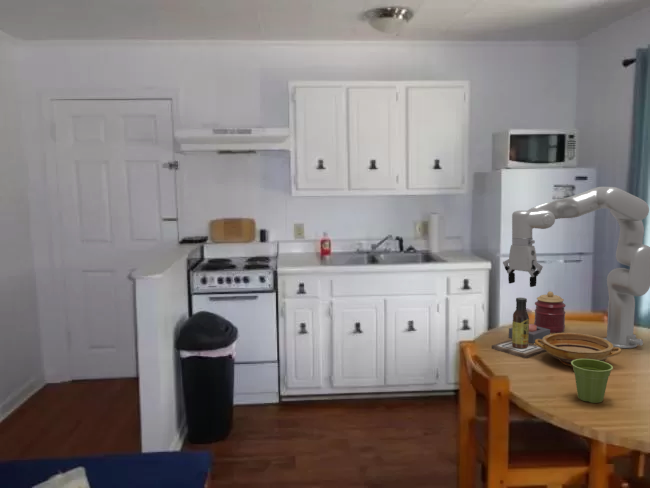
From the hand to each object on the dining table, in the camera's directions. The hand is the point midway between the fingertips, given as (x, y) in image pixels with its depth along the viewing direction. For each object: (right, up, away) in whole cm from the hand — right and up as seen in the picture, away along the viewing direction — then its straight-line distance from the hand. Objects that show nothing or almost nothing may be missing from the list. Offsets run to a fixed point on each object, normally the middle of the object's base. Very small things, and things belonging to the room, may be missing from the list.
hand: (522, 284), depth 219 cm
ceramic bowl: (+16, -29, -12) cm, 35 cm away
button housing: (+10, -24, +19) cm, 32 cm away
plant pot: (+5, -33, -45) cm, 56 cm away
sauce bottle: (0, -26, +3) cm, 26 cm away
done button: (+10, -22, +18) cm, 30 cm away
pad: (0, -27, +3) cm, 27 cm away
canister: (+23, -23, +31) cm, 45 cm away
